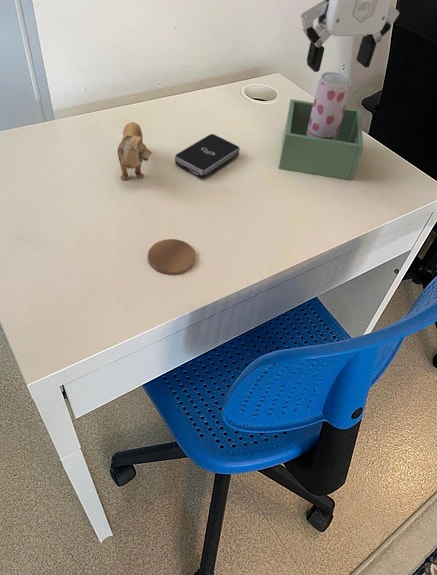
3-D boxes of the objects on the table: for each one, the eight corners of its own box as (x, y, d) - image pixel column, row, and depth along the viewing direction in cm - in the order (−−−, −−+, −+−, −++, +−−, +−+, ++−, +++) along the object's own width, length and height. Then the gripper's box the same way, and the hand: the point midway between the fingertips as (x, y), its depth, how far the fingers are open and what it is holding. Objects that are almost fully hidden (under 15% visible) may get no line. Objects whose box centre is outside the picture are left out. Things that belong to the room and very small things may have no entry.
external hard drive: (173, 165, 89) (173, 155, 88) (211, 142, 96) (212, 132, 94) (203, 181, 87) (203, 171, 85) (240, 156, 93) (241, 147, 92)
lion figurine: (153, 190, 84) (152, 143, 77) (122, 192, 83) (118, 145, 76) (142, 143, 94) (140, 98, 87) (113, 145, 92) (110, 99, 86)
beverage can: (312, 143, 98) (330, 68, 87) (336, 155, 96) (358, 79, 85) (296, 154, 95) (313, 77, 84) (320, 166, 93) (341, 89, 82)
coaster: (199, 246, 75) (199, 243, 75) (190, 278, 71) (190, 275, 70) (154, 238, 76) (154, 235, 75) (142, 270, 71) (142, 267, 71)
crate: (350, 142, 100) (360, 109, 95) (352, 180, 91) (363, 146, 86) (284, 131, 101) (290, 99, 96) (278, 168, 91) (285, 134, 86)
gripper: (329, -45, 66) (302, 80, 79) (434, -46, 71) (392, 72, 84) (304, -61, 71) (282, 60, 83) (403, -61, 76) (369, 53, 88)
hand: (337, 66), depth 83 cm, fingers open, 9 cm apart
